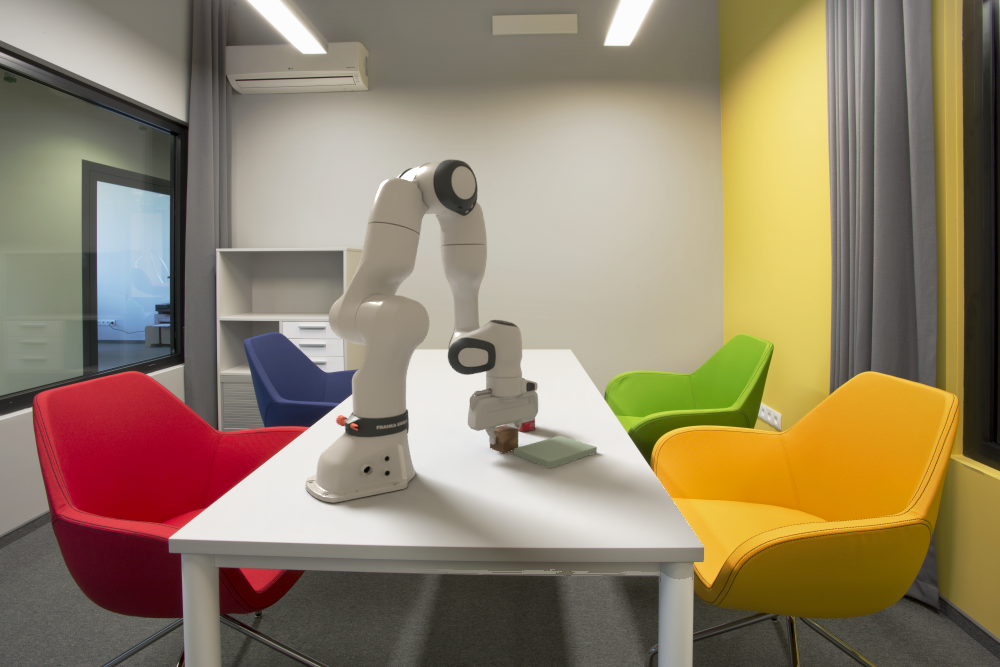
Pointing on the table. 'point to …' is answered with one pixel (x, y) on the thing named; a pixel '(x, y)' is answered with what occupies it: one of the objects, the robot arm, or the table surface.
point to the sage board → (555, 451)
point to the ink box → (525, 425)
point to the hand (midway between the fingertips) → (504, 440)
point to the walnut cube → (505, 439)
